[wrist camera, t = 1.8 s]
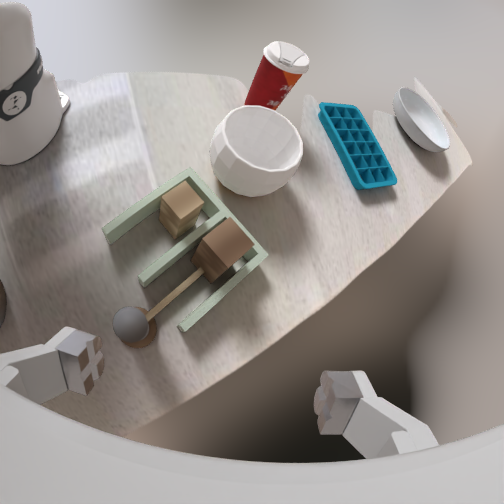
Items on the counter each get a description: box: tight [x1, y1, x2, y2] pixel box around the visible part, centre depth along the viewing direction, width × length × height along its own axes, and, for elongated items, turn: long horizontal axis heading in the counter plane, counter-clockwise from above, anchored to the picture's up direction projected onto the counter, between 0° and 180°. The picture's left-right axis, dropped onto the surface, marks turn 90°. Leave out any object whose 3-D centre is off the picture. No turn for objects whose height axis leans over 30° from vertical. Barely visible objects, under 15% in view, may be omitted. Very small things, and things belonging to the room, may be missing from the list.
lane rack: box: [102, 167, 269, 332], centre depth 36 cm, size 15×14×4 cm
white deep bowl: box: [209, 105, 303, 197], centre depth 40 cm, size 12×12×10 cm
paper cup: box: [245, 41, 309, 110], centre depth 43 cm, size 8×8×14 cm
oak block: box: [159, 181, 204, 239], centre depth 35 cm, size 4×4×7 cm
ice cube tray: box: [318, 102, 397, 190], centre depth 54 cm, size 12×20×3 cm, turn 20°
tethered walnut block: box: [113, 217, 255, 348], centre depth 31 cm, size 5×18×10 cm, turn 134°
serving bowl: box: [393, 87, 450, 152], centre depth 65 cm, size 21×21×7 cm
